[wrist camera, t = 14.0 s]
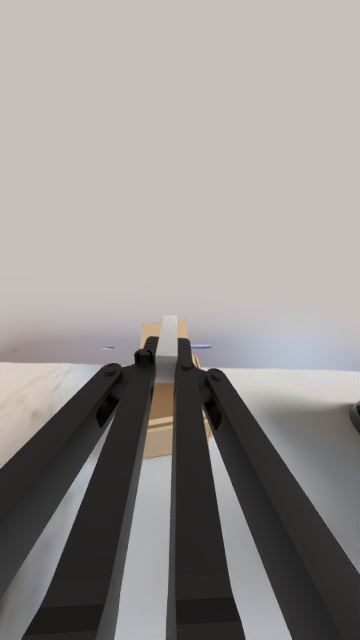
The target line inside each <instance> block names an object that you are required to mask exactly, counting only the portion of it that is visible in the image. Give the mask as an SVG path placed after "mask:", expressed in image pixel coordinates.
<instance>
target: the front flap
mask: <svg viewBox="0 0 360 640" xmlns="http://www.w3.org/2000/svg"><path fill="white" fill-rule="evenodd" d="M161 327H162V322H159V323H151V324H143V325H142V327H141V347H140V349H143V347H144V344H145V342H146V339H147V338H148V337H149V336H156V337H159V336H160V332H161ZM177 338H187V339H188V335H187V329H186V324H185V320H177Z"/></svg>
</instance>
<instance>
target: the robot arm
mask: <svg viewBox="0 0 360 640" xmlns="http://www.w3.org/2000/svg"><path fill="white" fill-rule="evenodd" d="M134 357H135V364H133V365H130V366H126V367H121V365H119V364H117V363H112V364H108V365H105V366H104V367H102V368H101V369H100V370H99V371H98V372H97V373H96V374H95V375H94V376H93V377H92V378H91V379H90V380H89V381H88V382H87V383H86V384H85V385H84V386H83V387H82V388H81V389H80V390H79V391H78V392H77V393H76V394H75V395H74V396H73V397H72V398H71V399H70V400H69V401H68V402H67V403H66V404H65V405H64V406H63V407H62V408H61V409H60V410H59V411H58V412H57V413H56V414H55V415H54V416H53V417H52V418H51V419H50V420H49V421H48V422H47V423H46V424H45V425H44V426H43V427H42V428H41V429H40V430H39V431H38V432H37V433H36V434H35V435H34V436H33V437H32V438H31V439H30V440H29V441H28V442H27V443H26V444H25V445H24V446H23V447H22V448H21V449H20V450H19V451H18V452H17V453H16V454H15V455H14V456H13V457H12V458H11V459H10V460H9V461H8V462H7V463H6V464H5V465H4V466H3V467H2V468H1V469H0V599H1V598H2V596H3V594H4V593H5V591H6V590H7V588H8V586H9V585H10V583H11V581H12V580H13V578H14V577H15V575H16V573H17V572H18V570H19V569H20V567H21V565H22V564H23V562H24V560H25V559H26V557H27V556H28V554H29V552H30V551H31V549H32V548H33V546H34V544H35V543H36V541H37V539H38V538H39V536H40V535H41V533H42V531H43V530H44V528H45V527H46V525H47V523H48V522H49V520H50V518H51V517H52V515H53V514H54V512H55V510H56V509H57V507H58V506H59V504H60V502H61V501H62V499H63V497H64V496H65V494H66V493H67V491H68V489H69V488H70V486H71V484H72V483H73V481H74V480H75V478H76V476H77V475H78V473H79V472H80V470H81V468H82V467H83V465H84V463H85V462H86V460H87V459H88V457H89V455H90V454H91V452H92V451H93V449H94V447H95V446H96V444H97V442H98V441H99V439H100V438H101V436H102V434H103V433H104V431H105V430H106V428H107V426H108V425H109V423H110V421H111V420H112V418H113V417H114V415H115V417H114V419H113V422H112V425H111V427H110V430H109V432H108V435H107V438H106V440H105V443H104V445H103V448H102V451H101V453H100V456H99V458H98V461H97V464H96V466H95V469H94V472H93V474H92V477H91V479H90V482H89V485H88V487H87V490H86V492H85V495H84V498H83V500H82V503H81V505H80V508H79V511H78V513H77V516H76V518H75V521H74V524H73V526H72V529H71V531H70V534H69V537H68V539H67V542H66V544H65V547H64V550H63V552H62V555H61V558H60V560H59V563H58V565H57V568H56V571H55V573H54V576H53V578H52V581H51V583H50V586H49V588H48V591H47V593H46V595H45V597H44V600H43V602H42V604H41V606H40V608H39V610H38V611H37V613H36V615H35V616H34V618H33V620H32V622H31V623H30V625H29V627H28V628H27V630H26V632H25V634H24V635H23V637H22V639H21V640H114V636H115V630H116V624H117V616H118V609H119V599H120V591H121V584H122V578H123V572H124V566H125V560H126V554H127V548H128V542H129V536H130V530H131V524H132V518H133V512H134V506H135V500H136V494H137V488H138V482H139V477H140V471H141V465H142V459H143V453H144V447H145V441H146V435H147V429H148V423H149V417H150V411H151V405H152V399H153V393H154V383H155V382H159V383H174V393H173V397H174V401H173V436H172V472H171V508H170V544H169V579H168V599H167V618H166V640H246V639H245V635H244V631H243V627H242V622H241V619H240V616H239V613H238V610H237V607H236V604H235V601H234V598H233V593H232V589H231V585H230V579H229V574H228V568H227V561H226V555H225V549H224V543H223V536H222V530H221V524H220V518H219V511H218V505H217V499H216V492H215V486H214V480H213V474H212V467H211V461H210V455H209V449H208V442H207V436H206V430H205V423H204V417H203V411H202V408H203V410H204V413H205V415H206V418H207V420H208V423H209V426H210V428H211V431H212V433H213V436H214V439H215V441H216V444H217V446H218V449H219V451H220V454H221V457H222V459H223V462H224V464H225V467H226V470H227V472H228V475H229V477H230V480H231V482H232V485H233V488H234V490H235V493H236V495H237V498H238V501H239V503H240V506H241V508H242V511H243V513H244V516H245V519H246V521H247V524H248V526H249V529H250V532H251V534H252V537H253V539H254V542H255V544H256V547H257V550H258V552H259V555H260V557H261V560H262V562H263V565H264V568H265V570H266V573H267V575H268V578H269V581H270V583H271V586H272V588H273V591H274V593H275V596H276V599H277V601H278V604H279V606H280V609H281V612H282V614H283V617H284V619H285V622H286V624H287V627H288V630H289V632H290V635H291V637H292V640H360V574H359V573H358V571H357V570H356V568H355V567H354V565H353V564H352V562H351V561H350V559H349V558H348V556H347V555H346V553H345V552H344V551H343V549H342V548H341V546H340V545H339V543H338V542H337V540H336V539H335V537H334V536H333V534H332V533H331V531H330V530H329V528H328V527H327V525H326V524H325V522H324V521H323V519H322V518H321V516H320V515H319V513H318V512H317V510H316V509H315V507H314V506H313V504H312V503H311V501H310V500H309V498H308V497H307V496H306V494H305V493H304V491H303V490H302V488H301V487H300V485H299V484H298V482H297V481H296V479H295V478H294V476H293V475H292V473H291V472H290V470H289V469H288V467H287V466H286V464H285V463H284V461H283V460H282V458H281V457H280V455H279V454H278V452H277V451H276V449H275V448H274V446H273V445H272V443H271V442H270V441H269V439H268V438H267V436H266V435H265V433H264V432H263V430H262V429H261V427H260V426H259V424H258V423H257V421H256V420H255V418H254V417H253V415H252V414H251V412H250V411H249V409H248V408H247V406H246V405H245V403H244V402H243V400H242V399H241V397H240V396H239V394H238V393H237V391H236V390H235V388H234V387H233V386H232V384H231V383H230V381H229V380H228V378H227V377H226V375H225V374H224V373H223V372H222V371H221V370H219V369H216V368H211V369H209V370H208V371H204V370H201V369H199V368H197V367H196V366H195V364H194V363H193V360H192V353H191V346H190V341H189V340H188V339H187V338H177V316H175V315H164V318H163V322H162V327H161V332H160V336H159V337H156V336H149V337H148V338H147V339H146V342H145V344H144V347H143V349H139V350H138V351H136V352H135V354H134ZM115 413H116V414H115ZM350 417H351V420H352V422H353V424H354V425H355V427H356V428H357V430H358V431H359V432H360V401H359V402H357V403H356V404H355V405H354V406H353V407H352V408H351V410H350Z"/></svg>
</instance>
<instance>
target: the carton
mask: <svg viewBox="0 0 360 640" xmlns="http://www.w3.org/2000/svg"><path fill="white" fill-rule="evenodd" d="M192 360H193V363H194V364H195V366H196V367H197V368H199V369H201V367H200V364H199V360H198V358H197V356H195V358H194V355H193V354H192ZM173 393H174V383H159V382H155V383H154V393H153V399H152V405H151V411H150V417H149V423H148V429H147V435H146V441H145V447H144V453H143V459H146V458H152V457H157V456H163V455H168V454H172V436H173V401H174V397H173ZM202 411H203V417H204V423H205V430H206V436H207V442H208V444H209V436H210V437H212V431H211V428H210V426H209V423H208V420H207V418H206V415H205V413H204V410H203V408H202Z"/></svg>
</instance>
